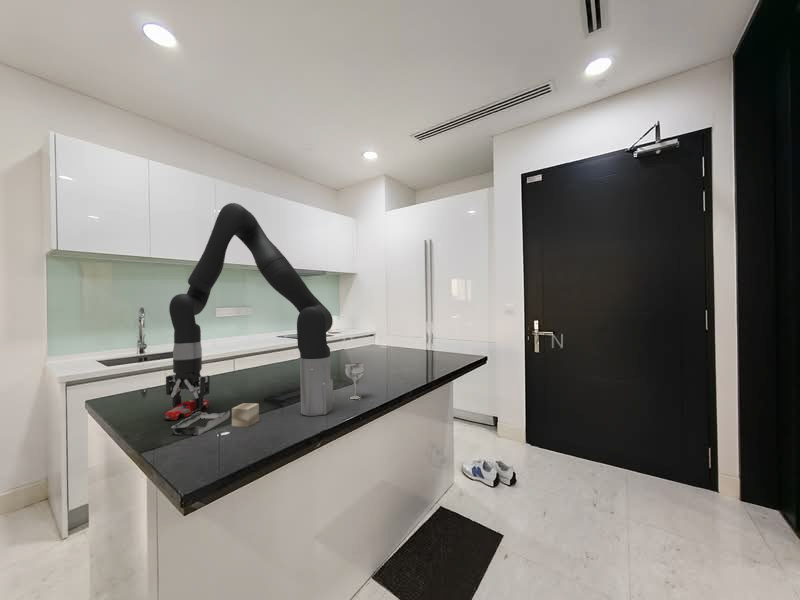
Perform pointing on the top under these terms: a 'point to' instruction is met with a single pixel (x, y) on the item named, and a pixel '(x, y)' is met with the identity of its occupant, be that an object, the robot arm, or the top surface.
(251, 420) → the birch block
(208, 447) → the top surface
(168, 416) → the race car
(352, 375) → the wineglass
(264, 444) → the top surface
